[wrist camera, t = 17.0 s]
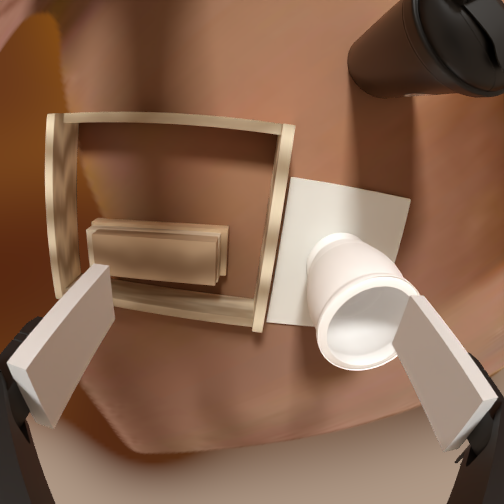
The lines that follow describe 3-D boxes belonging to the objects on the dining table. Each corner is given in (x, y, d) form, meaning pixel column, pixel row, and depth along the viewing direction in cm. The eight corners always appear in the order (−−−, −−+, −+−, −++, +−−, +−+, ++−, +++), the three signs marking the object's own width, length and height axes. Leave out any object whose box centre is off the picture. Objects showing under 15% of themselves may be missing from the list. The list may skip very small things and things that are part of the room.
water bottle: (374, 120, 35) (499, 123, 13) (323, 52, 32) (401, -27, 11) (429, 81, 32) (562, 66, 11) (382, 17, 30) (487, -56, 8)
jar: (333, 207, 38) (374, 253, 25) (390, 252, 41) (442, 311, 27) (281, 272, 42) (292, 344, 28) (340, 310, 44) (369, 385, 30)
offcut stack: (98, 217, 40) (77, 231, 35) (229, 225, 40) (224, 241, 35) (101, 258, 42) (82, 276, 37) (226, 269, 43) (222, 290, 37)
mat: (290, 176, 38) (291, 177, 37) (409, 198, 38) (410, 199, 38) (266, 320, 45) (266, 322, 45) (371, 328, 46) (372, 330, 45)
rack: (72, 113, 35) (47, 114, 29) (289, 126, 36) (295, 125, 30) (75, 279, 43) (56, 298, 38) (261, 307, 44) (261, 332, 39)
